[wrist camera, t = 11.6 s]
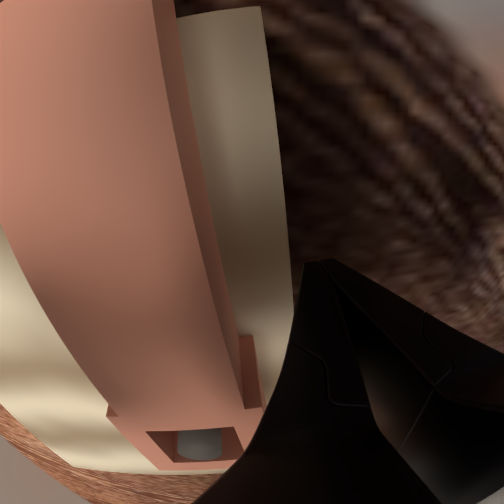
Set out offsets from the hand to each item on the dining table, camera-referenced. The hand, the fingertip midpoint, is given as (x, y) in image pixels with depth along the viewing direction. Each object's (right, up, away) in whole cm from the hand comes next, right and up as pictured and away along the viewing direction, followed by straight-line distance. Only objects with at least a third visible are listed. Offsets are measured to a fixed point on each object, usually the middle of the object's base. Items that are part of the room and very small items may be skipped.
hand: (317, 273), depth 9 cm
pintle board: (-9, -5, +4) cm, 11 cm away
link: (-5, 0, +1) cm, 5 cm away
